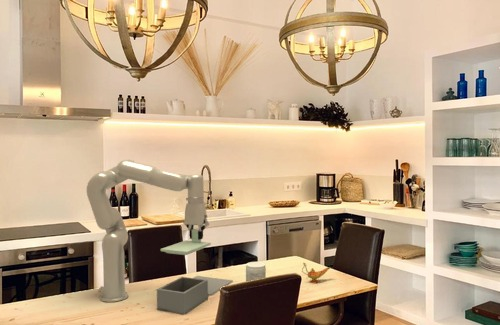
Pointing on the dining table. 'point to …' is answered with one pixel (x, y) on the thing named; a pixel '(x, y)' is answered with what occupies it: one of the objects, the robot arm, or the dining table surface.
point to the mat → (214, 283)
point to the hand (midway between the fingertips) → (196, 238)
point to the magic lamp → (315, 274)
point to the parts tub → (182, 295)
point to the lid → (187, 245)
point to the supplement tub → (255, 271)
